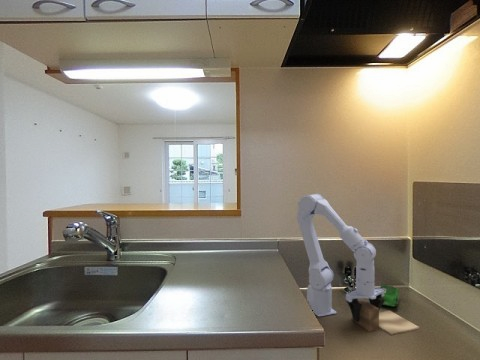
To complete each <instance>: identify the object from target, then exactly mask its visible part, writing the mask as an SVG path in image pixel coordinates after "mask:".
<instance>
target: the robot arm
mask: <svg viewBox="0 0 480 360" xmlns="http://www.w3.org/2000/svg"><path fill="white" fill-rule="evenodd" d="M297 206H298V208H297V216H296V219H297V223H298V226H299V227H298V228H299V230H300V233H301V237H302V241H303V244H304V246H305V247H304V248H305V251H306V254H307V258H308V260H309V267H308V283H309V284H308V286H307V288H306V302H307V301H308V303H309V305H310V306H311V308H312V310H313V312H314V313H313V312H312V313H313V314H315V315H316V316H317V317H324V316H330V315H335V314H337V311H336V310H334V308H332V301H333V299H332V295H333V294H332V282H333V280H334V278H335V277H334V276H335V274H334V271H333V270H332V269H331V268H330V266H329V263H328V261H326V260H325V259H324V256H323V252H322V249H321V246H320V242H319V238H318V235H317V232H316V229H315V225H314V223H313V218H314V217H315V215H316V214H317V215H322V216H323V217H324V218H326V219H327V221H328V222H329V223H330V224H332V226H333V227H335V229H336V230H337V231H338V232H339V238H340V239H341V240H342V241H343V242H344V244H345V245H346V246H347V247H348V248H349V249H350V250H351V251H352V252H353V257H354V259H355V260H356V266H355V268H356V269H355V270H356V271H355V273H356V275H355V277H356V278H355V279H356V280H355V287H356V288H355V290H353V291H351V292H349V293H345V301H346V303H347V305H348V307H349V309H350V312H351V315H352V316H353V322H355V321H356V322H359V320H360V310H361V307H362V304H360V303H359V301H358V299H363V300H365V299H368V302H369V303H370V304H372V305H374V306H375V307H377V308H379V311H380V310H381V308H382V306H383V305H382V304H383V303H384V302H385V299H384V298H382V297H381V296H384V290H382V289H380V288H375V270H376V269H375V257H376V255H377V250H376V248H375V245H374V244H372V243H371V242H368V240H367V239H364V238H363V237H362V235H361V234H360V233H359V230H358V229H357V228H356V227H353V226H351V225H347V224H346V222H344V220H343V219H342V218H341V217H340V215H339V214H338V213H337V212H336V211H335V210H334V208H333V207H332V206H331V205H330V203H329V201H328V200H327V199H325V198H324V196H322V195H321V194H320V193H313V194H305V195H302V197H300V198H299V201H298V202H297ZM352 316H351V317H352ZM356 322H355V323H356Z"/></svg>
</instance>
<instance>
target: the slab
mask: <svg viewBox="0 0 480 360" xmlns="http://www.w3.org/2000/svg"><path fill="white" fill-rule="evenodd" d="M358 301H359V303H360V304H362V307H361V310H360V320H359V322H356V321H354V320H353V316H351V320H353V321H354V322H355V323H357V324H358V325H359V326H360V327H362V328H364V329H365V330H366V331H368V332H374V331H378V329H379V330H380V327H379V313H380V310H379V308H377V307H375V306H374V305H372V304H370V302H369V301H366V300H365V299H358Z"/></svg>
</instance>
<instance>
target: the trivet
mask: <svg viewBox="0 0 480 360" xmlns="http://www.w3.org/2000/svg"><path fill="white" fill-rule="evenodd" d="M379 329H382V330H383V331H384V332H386V333H387V334H389V336H394V335H398V334H402V333H406V332H411V331H415V330H419V329H420V326H419V325H416V324H414V322H412V321H409V320H408V319H406V318H404V317H402V316H400V315H398V314H397V313H395V312H394V311H391V310H385V311H379Z"/></svg>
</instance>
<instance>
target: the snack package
mask: <svg viewBox="0 0 480 360" xmlns="http://www.w3.org/2000/svg"><path fill="white" fill-rule="evenodd" d="M379 289H382V290H384V296H381V297H382V298H384V299H385V302H384V303H383V304H382V306H387V307H393V308H394V307H397V306H398V304H399V295H400V294H399V291H400V290H399V288H398V287H396V286H393V285H387V284H381V285H380V287H379Z"/></svg>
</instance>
